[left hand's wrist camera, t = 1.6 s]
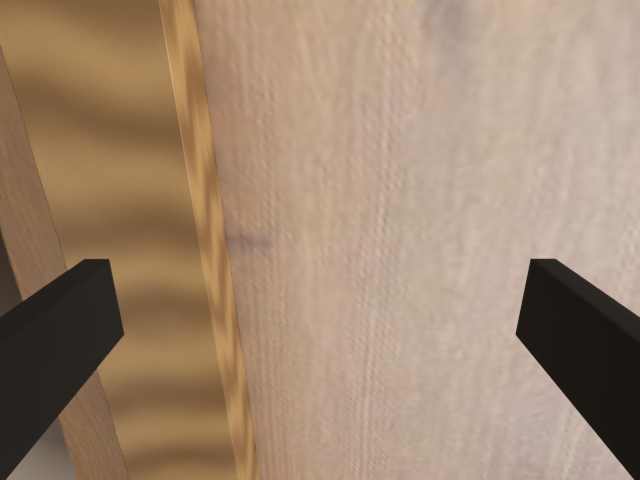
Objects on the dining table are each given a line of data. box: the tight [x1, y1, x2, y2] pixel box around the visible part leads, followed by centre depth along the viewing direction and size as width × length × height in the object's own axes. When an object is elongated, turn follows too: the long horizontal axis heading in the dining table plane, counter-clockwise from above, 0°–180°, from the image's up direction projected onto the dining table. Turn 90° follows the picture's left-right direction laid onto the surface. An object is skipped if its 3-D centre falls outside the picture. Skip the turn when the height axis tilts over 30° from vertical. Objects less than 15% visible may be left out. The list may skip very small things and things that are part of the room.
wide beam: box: [0, 0, 260, 480], centre depth 34 cm, size 58×9×7 cm, turn 3°
